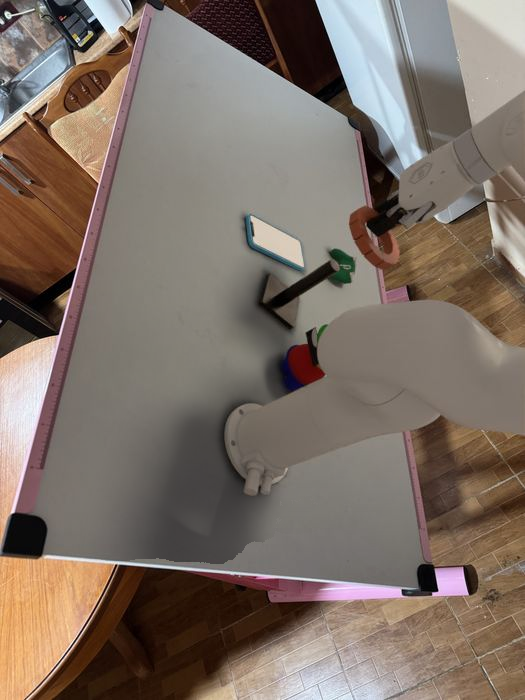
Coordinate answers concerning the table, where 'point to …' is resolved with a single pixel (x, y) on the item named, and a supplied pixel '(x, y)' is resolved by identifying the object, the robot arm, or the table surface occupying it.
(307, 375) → the toy
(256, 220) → the smartphone
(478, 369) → the robot arm
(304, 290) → the post
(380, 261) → the ring
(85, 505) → the table surface
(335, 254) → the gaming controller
